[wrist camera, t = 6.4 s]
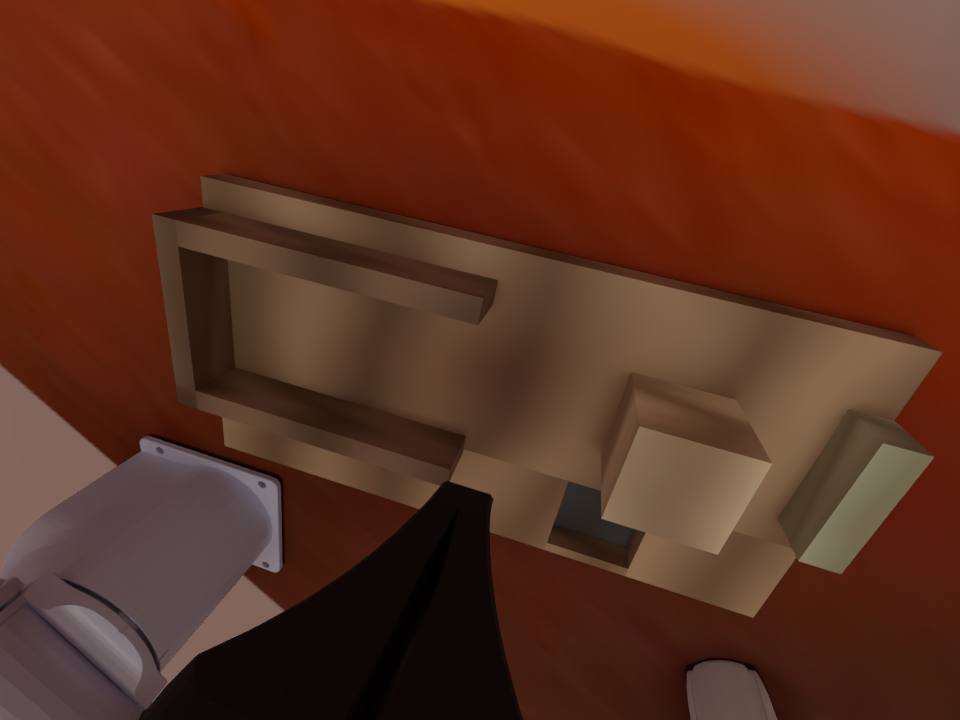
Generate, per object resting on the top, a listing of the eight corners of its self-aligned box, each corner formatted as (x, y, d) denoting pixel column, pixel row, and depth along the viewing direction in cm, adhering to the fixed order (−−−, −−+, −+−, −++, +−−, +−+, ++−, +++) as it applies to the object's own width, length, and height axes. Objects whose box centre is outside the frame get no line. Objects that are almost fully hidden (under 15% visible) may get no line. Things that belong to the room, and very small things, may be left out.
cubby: (218, 379, 23) (178, 403, 21) (203, 207, 19) (151, 214, 17) (462, 453, 21) (446, 487, 19) (497, 280, 17) (483, 298, 15)
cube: (600, 452, 20) (601, 518, 16) (631, 372, 18) (639, 426, 14) (695, 479, 19) (717, 554, 15) (736, 400, 17) (772, 463, 14)
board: (243, 431, 26) (193, 470, 23) (226, 174, 20) (154, 178, 17) (744, 590, 22) (768, 664, 19) (914, 336, 16) (993, 381, 13)
